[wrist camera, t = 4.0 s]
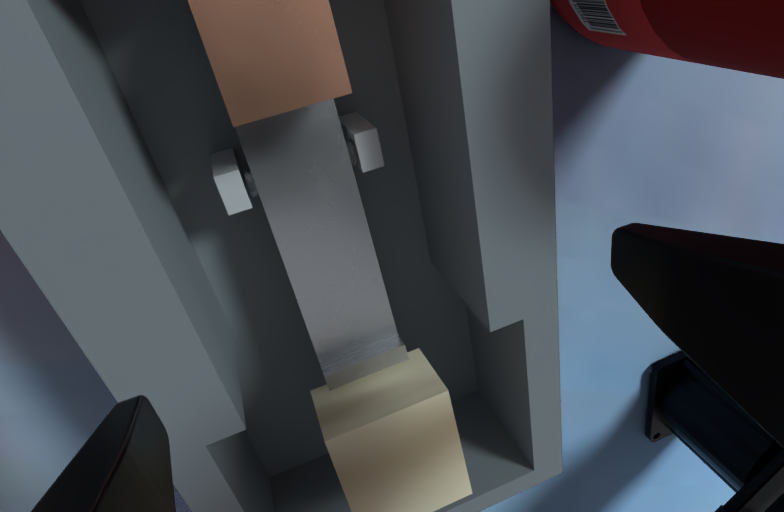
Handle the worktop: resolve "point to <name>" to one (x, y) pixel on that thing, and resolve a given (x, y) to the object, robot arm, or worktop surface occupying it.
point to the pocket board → (259, 248)
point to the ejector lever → (304, 171)
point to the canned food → (687, 30)
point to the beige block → (394, 439)
